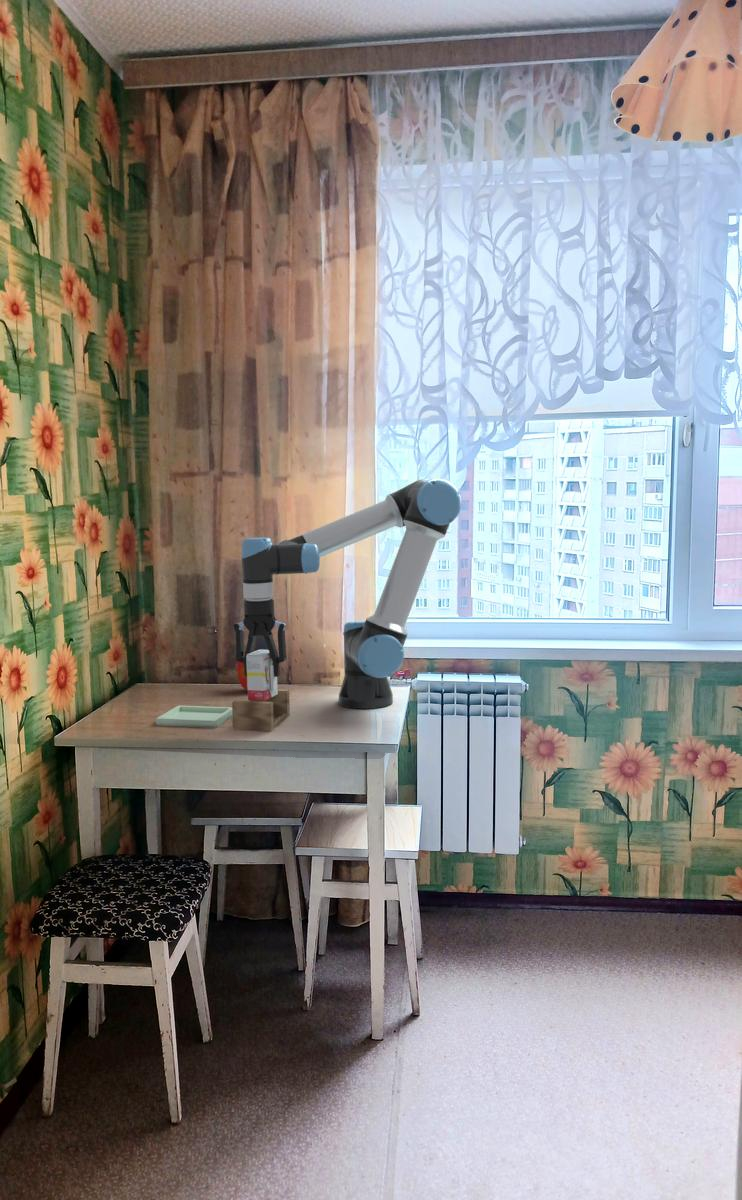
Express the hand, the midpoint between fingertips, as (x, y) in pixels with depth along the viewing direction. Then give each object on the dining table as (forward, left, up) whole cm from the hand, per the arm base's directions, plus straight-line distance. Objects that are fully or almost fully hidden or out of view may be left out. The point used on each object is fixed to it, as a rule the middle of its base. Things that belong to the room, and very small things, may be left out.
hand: (262, 688), depth 234 cm
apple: (+14, -34, -9) cm, 38 cm away
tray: (+18, 0, -9) cm, 20 cm away
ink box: (0, 0, -3) cm, 3 cm away
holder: (0, 0, -9) cm, 9 cm away
